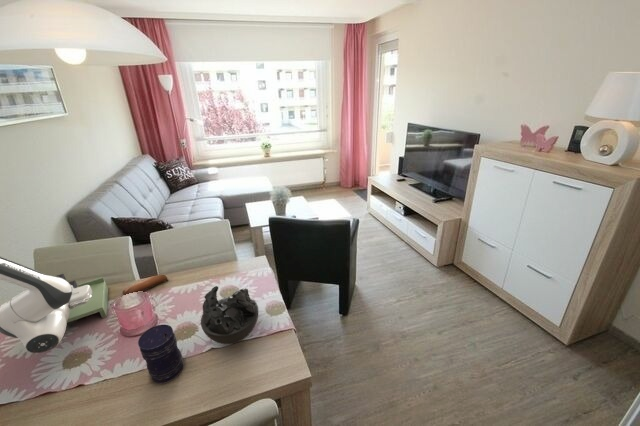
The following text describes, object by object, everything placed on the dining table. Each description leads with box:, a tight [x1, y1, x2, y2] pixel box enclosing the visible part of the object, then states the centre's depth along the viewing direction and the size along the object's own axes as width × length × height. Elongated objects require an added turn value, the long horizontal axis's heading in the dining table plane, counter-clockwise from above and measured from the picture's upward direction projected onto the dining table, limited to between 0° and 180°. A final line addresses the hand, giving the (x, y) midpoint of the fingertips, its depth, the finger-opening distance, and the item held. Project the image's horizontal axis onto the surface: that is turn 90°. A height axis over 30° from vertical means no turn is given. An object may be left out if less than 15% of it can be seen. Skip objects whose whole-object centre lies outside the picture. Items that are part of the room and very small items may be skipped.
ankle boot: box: [56, 273, 78, 309], centre depth 111 cm, size 5×15×12 cm, turn 32°
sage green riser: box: [67, 276, 109, 324], centre depth 122 cm, size 20×22×7 cm
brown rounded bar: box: [122, 274, 169, 296], centre depth 136 cm, size 18×7×7 cm
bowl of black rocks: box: [200, 285, 259, 345], centre depth 105 cm, size 20×20×19 cm
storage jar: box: [137, 324, 185, 385], centre depth 93 cm, size 10×10×15 cm
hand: (59, 290), depth 108 cm, fingers closed on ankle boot, 5 cm apart
